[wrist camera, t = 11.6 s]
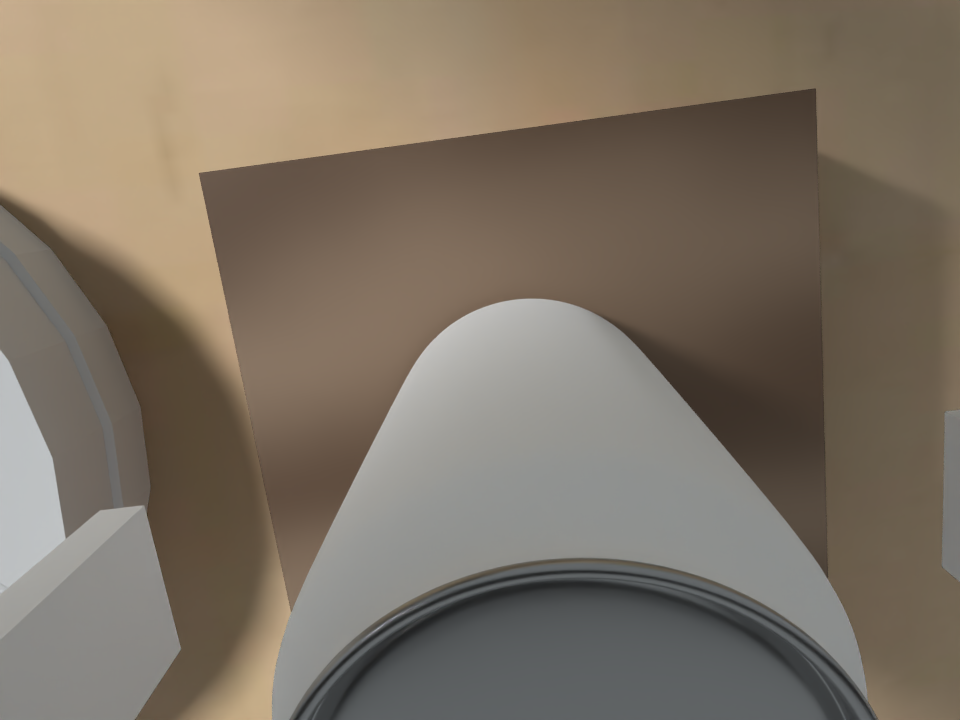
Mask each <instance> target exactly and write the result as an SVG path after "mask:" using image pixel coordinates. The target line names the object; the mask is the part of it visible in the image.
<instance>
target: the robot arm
mask: <svg viewBox="0 0 960 720" xmlns="http://www.w3.org/2000/svg"><path fill="white" fill-rule="evenodd" d="M942 567H943V568H944V569H945V570H946V571H947V572H948V573H950V574H951V575H952V576H953V577H954V578H956V579H957V580H958V581H959V582H960V410H953V411H945V431H944V482H943V534H942ZM180 650H181V647H180V643H179V639H178V635H177V631H176V627H175V623H174V619H173V615H172V611H171V608H170V604H169V600H168V596H167V592H166V588H165V584H164V580H163V576H162V572H161V569H160V565H159V561H158V557H157V553H156V549H155V545H154V541H153V537H152V533H151V530H150V526H149V522H148V518H147V514H146V510H145V506H144V505H142V506H133V507H125V508H116V509H108V510H100V511H99V512H97V513H96V514H95V515H94V516H93V517H91V518H90V519H89V520H88V521H87V522H85V523H84V524H83V525H82V526H81V527H80V528H78V529H77V530H76V531H75V532H74V533H72V534H71V535H70V536H69V537H68V538H67V539H65V540H64V541H63V542H62V543H61V544H59V545H58V546H57V547H56V548H55V549H53V550H52V551H51V552H50V553H49V554H48V555H46V556H45V557H44V558H43V559H42V560H40V561H39V562H38V563H37V564H36V565H34V566H33V567H32V568H31V569H30V570H29V571H27V572H26V573H25V574H24V575H23V576H21V577H20V578H19V579H18V580H17V581H16V582H14V583H13V584H12V585H11V586H10V587H8V588H7V589H6V590H5V591H4V592H2V593H1V594H0V720H135V719H136V717H137V715H138V714H139V712H140V711H141V709H142V708H143V706H144V705H145V703H146V702H147V700H148V699H149V697H150V696H151V694H152V693H153V691H154V690H155V688H156V687H157V685H158V684H159V682H160V681H161V679H162V678H163V676H164V675H165V673H166V672H167V670H168V669H169V667H170V665H171V664H172V662H173V661H174V659H175V658H176V656H177V655H178V653H179V652H180Z"/></svg>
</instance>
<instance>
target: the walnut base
mask: <svg viewBox="0 0 960 720" xmlns="http://www.w3.org/2000/svg"><path fill="white" fill-rule="evenodd" d="M199 176H200V181H201V186H202V190H203V195H204V200H205V205H206V209H207V214H208V219H209V224H210V228H211V233H212V238H213V243H214V247H215V252H216V257H217V262H218V266H219V271H220V276H221V281H222V285H223V290H224V295H225V300H226V304H227V309H228V314H229V319H230V323H231V328H232V333H233V338H234V343H235V347H236V352H237V357H238V362H239V366H240V371H241V376H242V381H243V385H244V390H245V395H246V400H247V404H248V409H249V414H250V419H251V423H252V428H253V433H254V438H255V442H256V447H257V452H258V457H259V461H260V466H261V471H262V476H263V481H264V485H265V490H266V495H267V500H268V504H269V509H270V514H271V519H272V523H273V528H274V533H275V538H276V542H277V547H278V552H279V557H280V561H281V566H282V571H283V576H284V580H285V585H286V590H287V595H288V599H289V604H290V609H291V612H292V609H293V607H294V605H295V602H296V600H297V598H298V595H299V593H300V591H301V588H302V586H303V584H304V582H305V579H306V577H307V575H308V573H309V571H310V568H311V566H312V564H313V562H314V560H315V558H316V556H317V554H318V552H319V550H320V548H321V546H322V544H323V542H324V539H325V537H326V535H327V533H328V531H329V529H330V527H331V525H332V523H333V521H334V519H335V517H336V515H337V513H338V511H339V509H340V507H341V505H342V503H343V501H344V499H345V497H346V495H347V493H348V491H349V489H350V487H351V485H352V483H353V481H354V479H355V477H356V475H357V473H358V471H359V469H360V467H361V465H362V463H363V461H364V459H365V457H366V455H367V453H368V451H369V449H370V447H371V445H372V443H373V441H374V439H375V437H376V436H377V434H378V432H379V430H380V428H381V426H382V424H383V422H384V420H385V418H386V416H387V414H388V412H389V410H390V408H391V406H392V404H393V402H394V400H395V399H396V397H397V395H398V393H399V391H400V389H401V387H402V385H403V383H404V382H405V380H406V378H407V376H408V374H409V372H410V371H411V369H412V367H413V366H414V364H415V363H416V361H417V359H418V358H419V357H420V355H421V354H422V352H423V351H424V350H425V349H426V347H427V346H428V345H429V344H430V343H431V342H432V341H433V340H434V339H435V338H436V337H437V336H438V335H439V334H440V333H441V332H442V331H443V330H445V329H446V328H447V327H448V326H450V325H451V324H453V323H454V322H456V321H457V320H459V319H460V318H462V317H464V316H465V315H467V314H469V313H471V312H473V311H476V310H478V309H480V308H483V307H486V306H489V305H492V304H495V303H499V302H504V301H509V300H516V299H548V300H555V301H560V302H565V303H569V304H572V305H575V306H578V307H581V308H584V309H586V310H588V311H590V312H592V313H594V314H596V315H598V316H600V317H602V318H603V319H605V320H607V321H608V322H610V323H611V324H613V325H614V326H615V327H617V328H618V329H619V330H620V331H622V332H623V333H624V334H625V335H626V336H627V337H628V338H629V339H630V340H631V341H632V342H633V343H634V344H635V345H636V346H637V347H638V348H639V349H640V350H641V351H642V352H643V353H644V354H645V356H646V357H647V358H648V359H649V360H650V361H651V362H652V364H653V365H654V366H655V367H656V368H657V369H658V370H659V372H660V373H661V374H662V375H663V376H664V377H665V378H666V380H667V381H668V382H669V383H670V384H671V385H672V387H673V388H674V389H675V390H676V391H677V392H678V394H679V395H680V396H681V397H682V398H683V399H684V401H685V402H686V403H687V404H688V405H689V406H690V407H691V409H692V410H693V411H694V412H695V413H696V415H697V416H698V417H699V418H700V419H701V420H702V422H703V423H704V424H705V425H706V426H707V427H708V429H709V430H710V431H711V432H712V433H713V434H714V436H715V437H716V438H717V439H718V440H719V441H720V443H721V444H722V445H723V446H724V447H725V449H726V450H727V451H728V452H729V453H730V454H731V456H732V457H733V458H734V459H735V460H736V462H737V463H738V464H739V465H740V466H741V468H742V469H743V470H744V471H745V472H746V473H747V475H748V476H749V477H750V478H751V479H752V481H753V482H754V483H755V484H756V485H757V487H758V488H759V489H760V490H761V491H762V493H763V494H764V495H765V496H766V497H767V499H768V500H769V501H770V502H771V503H772V505H773V506H774V507H775V508H776V510H777V511H778V512H779V513H780V514H781V516H782V517H783V518H784V519H785V520H786V522H787V523H788V524H789V526H790V527H791V528H792V529H793V531H794V532H795V533H796V535H797V536H798V537H799V539H800V540H801V541H802V543H803V544H804V545H805V546H806V548H807V549H808V550H809V552H810V553H811V554H812V556H813V557H814V559H815V560H816V561H817V563H818V564H819V566H820V567H821V569H822V571H823V572H824V574H825V575H826V577H827V579H828V562H827V522H826V481H825V441H824V401H823V360H822V320H821V279H820V239H819V198H818V158H817V117H816V89H808V90H801V91H794V92H786V93H779V94H772V95H765V96H757V97H750V98H743V99H735V100H728V101H721V102H714V103H706V104H699V105H692V106H684V107H677V108H670V109H662V110H655V111H648V112H641V113H633V114H626V115H619V116H611V117H604V118H597V119H590V120H582V121H575V122H568V123H560V124H553V125H546V126H539V127H531V128H524V129H517V130H509V131H502V132H495V133H488V134H480V135H473V136H466V137H458V138H451V139H444V140H436V141H429V142H422V143H415V144H407V145H400V146H393V147H385V148H378V149H371V150H364V151H356V152H349V153H342V154H334V155H327V156H320V157H313V158H305V159H298V160H291V161H283V162H276V163H269V164H261V165H254V166H247V167H240V168H232V169H225V170H218V171H210V172H203V173H199Z"/></svg>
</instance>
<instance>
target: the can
mask: <svg viewBox="0 0 960 720" xmlns="http://www.w3.org/2000/svg"><path fill="white" fill-rule="evenodd" d="M272 720H878V718H877V716H876V715H875V713H874V711H873V709H872V708H871V706H870V704H869V703H868V698H867V688H866V681H865V675H864V670H863V665H862V660H861V655H860V652H859V648H858V644H857V641H856V638H855V635H854V632H853V629H852V626H851V624H850V621H849V619H848V616H847V614H846V612H845V610H844V608H843V606H842V604H841V602H840V600H839V598H838V596H837V594H836V592H835V591H834V589H833V587H832V586H831V584H830V582H829V580H828V579H827V577H826V575H825V574H824V572H823V571H822V569H821V567H820V566H819V564H818V563H817V561H816V560H815V559H814V557H813V556H812V554H811V553H810V552H809V550H808V549H807V548H806V546H805V545H804V544H803V543H802V541H801V540H800V539H799V537H798V536H797V535H796V533H795V532H794V531H793V529H792V528H791V527H790V526H789V524H788V523H787V522H786V520H785V519H784V518H783V517H782V516H781V514H780V513H779V512H778V511H777V510H776V508H775V507H774V506H773V505H772V503H771V502H770V501H769V500H768V499H767V497H766V496H765V495H764V494H763V493H762V491H761V490H760V489H759V488H758V487H757V485H756V484H755V483H754V482H753V481H752V479H751V478H750V477H749V476H748V475H747V473H746V472H745V471H744V470H743V469H742V468H741V466H740V465H739V464H738V463H737V462H736V460H735V459H734V458H733V457H732V456H731V454H730V453H729V452H728V451H727V450H726V449H725V447H724V446H723V445H722V444H721V443H720V441H719V440H718V439H717V438H716V437H715V436H714V434H713V433H712V432H711V431H710V430H709V429H708V427H707V426H706V425H705V424H704V423H703V422H702V420H701V419H700V418H699V417H698V416H697V415H696V413H695V412H694V411H693V410H692V409H691V407H690V406H689V405H688V404H687V403H686V402H685V401H684V399H683V398H682V397H681V396H680V395H679V394H678V392H677V391H676V390H675V389H674V388H673V387H672V385H671V384H670V383H669V382H668V381H667V380H666V378H665V377H664V376H663V375H662V374H661V373H660V372H659V370H658V369H657V368H656V367H655V366H654V365H653V364H652V362H651V361H650V360H649V359H648V358H647V357H646V356H645V354H644V353H643V352H642V351H641V350H640V349H639V348H638V347H637V346H636V345H635V344H634V343H633V342H632V341H631V340H630V339H629V338H628V337H627V336H626V335H625V334H624V333H623V332H622V331H620V330H619V329H618V328H617V327H615V326H614V325H613V324H611V323H610V322H608V321H607V320H605V319H603V318H602V317H600V316H598V315H596V314H594V313H592V312H590V311H588V310H586V309H584V308H581V307H578V306H575V305H572V304H569V303H565V302H560V301H555V300H548V299H516V300H509V301H504V302H499V303H495V304H492V305H489V306H486V307H483V308H480V309H478V310H476V311H473V312H471V313H469V314H467V315H465V316H464V317H462V318H460V319H459V320H457V321H456V322H454V323H453V324H451V325H450V326H448V327H447V328H446V329H445V330H443V331H442V332H441V333H440V334H439V335H438V336H437V337H436V338H435V339H434V340H433V341H432V342H431V343H430V344H429V345H428V346H427V347H426V349H425V350H424V351H423V352H422V354H421V355H420V357H419V358H418V359H417V361H416V363H415V364H414V366H413V367H412V369H411V371H410V372H409V374H408V376H407V378H406V380H405V382H404V383H403V385H402V387H401V389H400V391H399V393H398V395H397V397H396V399H395V400H394V402H393V404H392V406H391V408H390V410H389V412H388V414H387V416H386V418H385V420H384V422H383V424H382V426H381V428H380V430H379V432H378V434H377V436H376V437H375V439H374V441H373V443H372V445H371V447H370V449H369V451H368V453H367V455H366V457H365V459H364V461H363V463H362V465H361V467H360V469H359V471H358V473H357V475H356V477H355V479H354V481H353V483H352V485H351V487H350V489H349V491H348V493H347V495H346V497H345V499H344V501H343V503H342V505H341V507H340V509H339V511H338V513H337V515H336V517H335V519H334V521H333V523H332V525H331V527H330V529H329V531H328V533H327V535H326V537H325V539H324V542H323V544H322V546H321V548H320V550H319V552H318V554H317V556H316V558H315V560H314V562H313V564H312V566H311V568H310V571H309V573H308V575H307V577H306V579H305V582H304V584H303V586H302V588H301V591H300V593H299V595H298V598H297V600H296V602H295V605H294V607H293V609H292V612H291V615H290V617H289V620H288V623H287V626H286V630H285V633H284V636H283V640H282V643H281V647H280V650H279V654H278V659H277V663H276V669H275V675H274V682H273V694H272Z"/></svg>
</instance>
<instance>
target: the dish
mask: <svg viewBox="0 0 960 720" xmlns="http://www.w3.org/2000/svg"><path fill="white" fill-rule="evenodd" d="M150 489H151V484H150V477H149V469H148V461H147V453H146V446H145V438H144V430H143V423H142V415H141V407H140V404H139V402H138V400H137V397H136V395H135V392H134V390H133V388H132V385H131V383H130V380H129V378H128V375H127V373H126V371H125V368H124V366H123V363H122V361H121V359H120V356H119V354H118V351H117V349H116V347H115V344H114V342H113V339H112V337H111V334H110V332H109V330H108V327H107V325H106V324H105V322H104V321H103V320H102V318H101V317H100V315H99V314H98V313H97V311H96V310H95V309H94V307H93V306H92V304H91V303H90V302H89V300H88V299H87V298H86V296H85V295H84V293H83V292H82V291H81V289H80V288H79V287H78V285H77V284H76V282H75V281H74V280H73V278H72V277H71V276H70V274H69V273H68V271H67V270H66V269H65V267H64V266H63V265H62V263H61V262H60V260H59V259H58V258H57V256H56V255H55V254H54V252H53V251H52V249H51V248H49V247H48V246H47V245H46V244H45V243H44V242H42V241H41V240H40V239H39V238H38V237H37V236H36V235H34V234H33V233H32V232H31V231H30V230H29V229H28V228H26V227H25V226H24V225H23V224H22V223H21V222H20V221H18V220H17V219H16V218H15V217H14V216H13V215H12V214H10V213H9V212H8V211H7V210H6V209H5V208H4V207H2V206H1V205H0V594H1V593H2V592H4V591H5V590H6V589H7V588H8V587H10V586H11V585H12V584H13V583H14V582H16V581H17V580H18V579H19V578H20V577H21V576H23V575H24V574H25V573H26V572H27V571H29V570H30V569H31V568H32V567H33V566H34V565H36V564H37V563H38V562H39V561H40V560H42V559H43V558H44V557H45V556H46V555H48V554H49V553H50V552H51V551H52V550H53V549H55V548H56V547H57V546H58V545H59V544H61V543H62V542H63V541H64V540H65V539H67V538H68V537H69V536H70V535H71V534H72V533H74V532H75V531H76V530H77V529H78V528H80V527H81V526H82V525H83V524H84V523H85V522H87V521H88V520H89V519H90V518H91V517H93V516H94V515H95V514H96V513H97V512H99V511H100V510H108V509H116V508H125V507H133V506H142V505H144V506H145V510H146V514H147V509H148V502H149V496H150Z"/></svg>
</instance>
